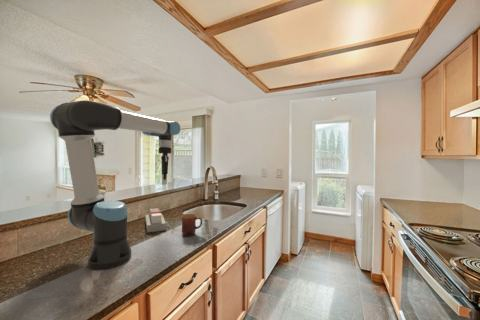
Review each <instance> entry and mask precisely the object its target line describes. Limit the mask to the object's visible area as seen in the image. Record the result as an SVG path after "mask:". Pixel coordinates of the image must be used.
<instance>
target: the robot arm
mask: <svg viewBox="0 0 480 320" xmlns="http://www.w3.org/2000/svg"><path fill="white" fill-rule="evenodd" d="M49 117H50V123H51V124H52V126H53V127H54V128H55V129H57V132H58V137H59V138H60V139H61V140H63V141H64V143H65V147H66V148H65V149H66V155H67V161H68V167H69V172H70V178H71V183H72V189H73V196H74V198H73V199H72V200H71V201H70V205H71V206H70V208H69V210H68V212H67V219H68V222H69V224H70V225H71V226H73V227H74V228H76V229H79V230H84V231H88V232H91V233H93V238H92V239H93V241H92V242H93V244H92V247H91V250H90V252H89V254H88V257H87V267H88V268H89V269H91V270H96V271H97V270H106V269H112V268H116V267H118V266H121V265H123V264H125V263H127V262H128V261H129V260H131V258H132V249H131V246H130V243H129V241H128V214H129V213H128V212H129V211H128V207H127V204H126V203H125V202H122V201H120V200H119V201H117V200H105V195H103V194H101V193H100V191H99V189H100V188H99V184H98V177H97V176H98V175H97V169H96V164H95V163H96V162H95V156H94V150H93V143H92V139H93V138H95V136H96V133H95V131H99V130H111V131H112V130H113V131H116V130H118V129H122V130H130V131H135V132H137V131H138V132H142V134H144V135H145V136H148V137H149V136H151V137H157V138H158V154H161V156H160V158H161V185H162V186H163V185H165V186H166V185H168V183H167V182H168V174H169V172H168V171H169V170H168V169H169V168H168V167H169V160H170V158H169V157H170V156H169V154H170V155H171V154H172V144H173V142H172V136H177V135H179V134H180V132H181V124H180V123H179V122H178V121H176V120H175V121H173V120H171V121H168V120H163V119H159V118H155V117H151V116H146V115H143V114H142V115H141V114H137V113H133V112H127V111H124V110H121V109H120V108H119V107H117V106H115V105H114V106H113V105H109V104H104V103H101V102H96V101H93V100H76V101H71V102H70V101H69V102H64V103H60V104H59V105H57V106H55V107H54V108H53V109H52V110H51V112H50V116H49Z"/></svg>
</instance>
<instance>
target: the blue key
mask: <svg viewBox="0 0 480 320" xmlns="http://www.w3.org/2000/svg"><path fill="white" fill-rule="evenodd" d="M151 210H160V209H159V208H157V207H156V208H150V209H149V215H150V217H151Z"/></svg>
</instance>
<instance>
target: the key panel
mask: <svg viewBox="0 0 480 320" xmlns="http://www.w3.org/2000/svg"><path fill="white" fill-rule="evenodd" d="M160 213H161V212H160ZM145 226H146V233H154V232H160V231H167V222H166V219H165V218H164V215H163V213H161V223H156V224H152V222H151V217H150V214H146V215H145Z"/></svg>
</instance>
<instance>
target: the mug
mask: <svg viewBox="0 0 480 320" xmlns="http://www.w3.org/2000/svg"><path fill="white" fill-rule="evenodd" d="M180 219H181V234H182V236H184V237H191V236H194V235H195V234H196V230H198V229H200V228H201V227H202V225H203V218H202V217H199V216H198V215H197V214H195V213H185V214H181V215H180ZM197 220H200V223H199V225H197V226H196V221H197Z"/></svg>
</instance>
